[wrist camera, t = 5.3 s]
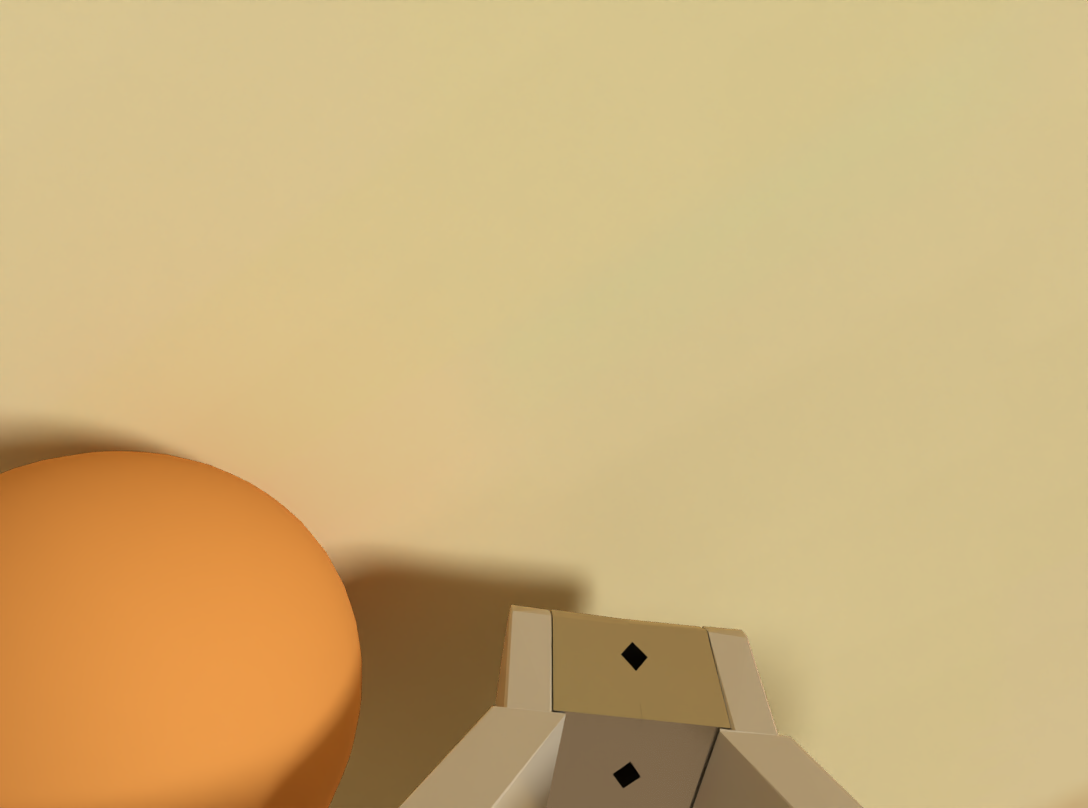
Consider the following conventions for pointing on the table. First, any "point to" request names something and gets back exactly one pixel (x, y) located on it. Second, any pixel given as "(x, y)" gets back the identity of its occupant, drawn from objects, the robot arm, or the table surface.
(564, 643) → the robot arm
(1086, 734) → the table surface
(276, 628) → the ball
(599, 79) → the table surface
